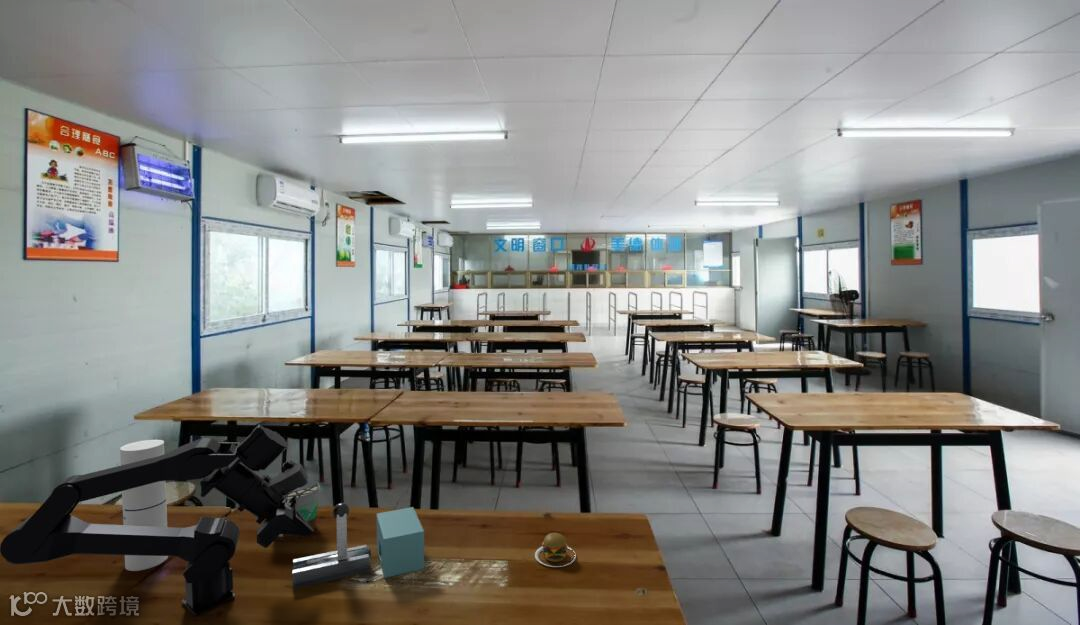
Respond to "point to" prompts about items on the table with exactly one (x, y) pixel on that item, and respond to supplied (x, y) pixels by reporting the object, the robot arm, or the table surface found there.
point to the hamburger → (554, 549)
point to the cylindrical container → (144, 500)
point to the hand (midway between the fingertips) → (311, 533)
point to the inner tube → (340, 539)
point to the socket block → (400, 542)
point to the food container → (305, 506)
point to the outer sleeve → (328, 568)
